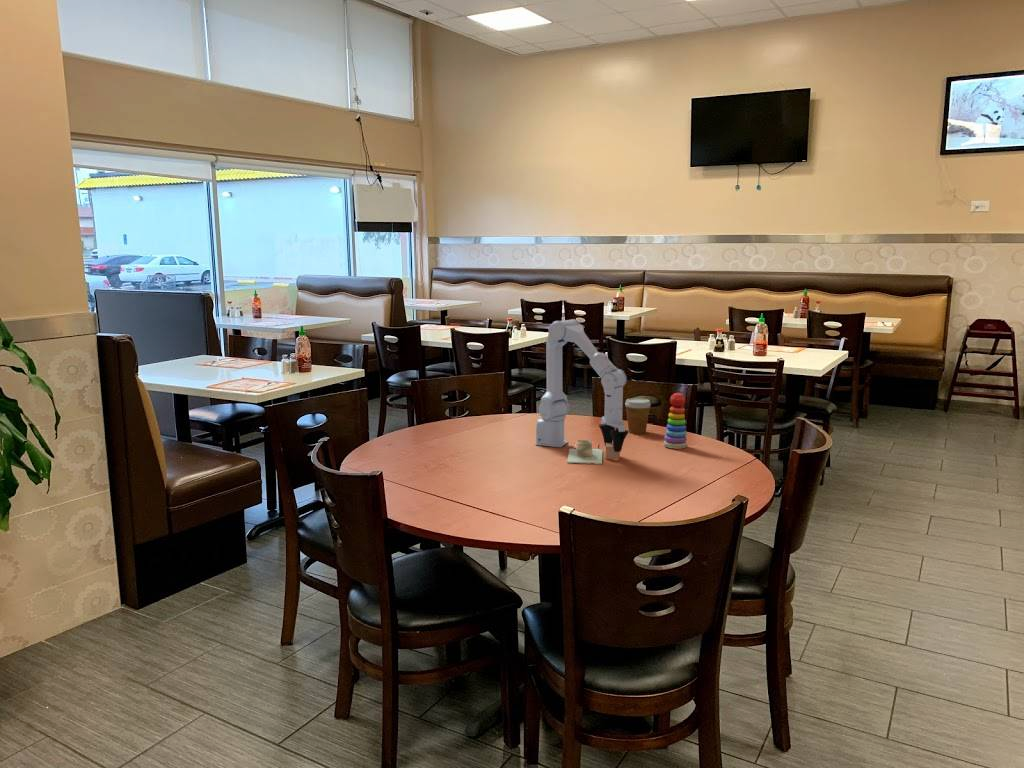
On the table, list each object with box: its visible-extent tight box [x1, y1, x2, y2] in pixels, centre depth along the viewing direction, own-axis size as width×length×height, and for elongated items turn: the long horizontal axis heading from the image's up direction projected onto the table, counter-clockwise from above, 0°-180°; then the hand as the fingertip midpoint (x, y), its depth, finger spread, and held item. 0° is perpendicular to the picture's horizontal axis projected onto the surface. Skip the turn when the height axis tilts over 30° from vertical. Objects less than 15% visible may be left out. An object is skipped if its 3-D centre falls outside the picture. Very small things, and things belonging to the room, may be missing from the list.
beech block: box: [577, 439, 593, 457], centre depth 249 cm, size 4×4×4 cm
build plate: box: [566, 448, 603, 465], centre depth 249 cm, size 11×16×1 cm
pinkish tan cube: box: [605, 442, 621, 460], centre depth 248 cm, size 4×4×4 cm
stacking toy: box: [663, 392, 688, 450], centre depth 260 cm, size 8×8×19 cm
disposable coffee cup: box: [624, 397, 652, 435], centre depth 282 cm, size 10×10×12 cm
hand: (612, 448), depth 248 cm, fingers open, 7 cm apart
